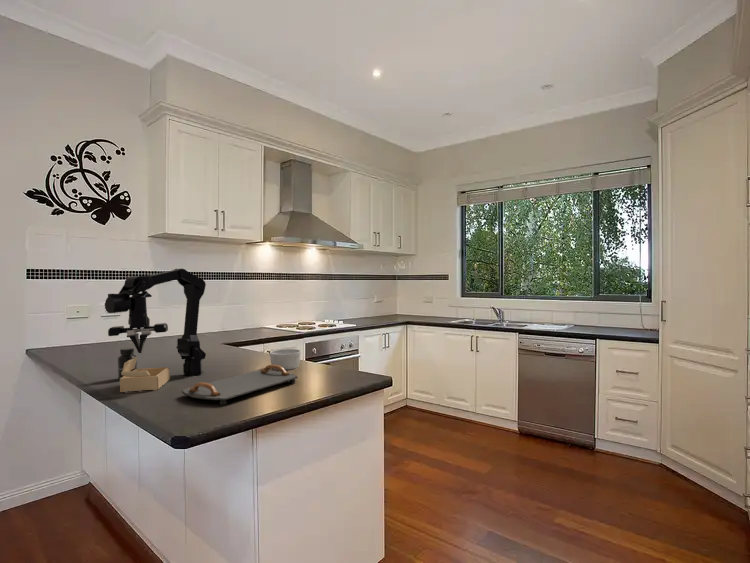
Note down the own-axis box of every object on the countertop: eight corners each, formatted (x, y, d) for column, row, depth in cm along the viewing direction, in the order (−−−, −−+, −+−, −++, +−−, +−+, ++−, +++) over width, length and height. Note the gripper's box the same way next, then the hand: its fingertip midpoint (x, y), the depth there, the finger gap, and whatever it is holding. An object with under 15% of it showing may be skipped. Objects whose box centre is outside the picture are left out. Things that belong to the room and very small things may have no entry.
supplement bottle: (115, 381, 174) (114, 350, 174) (120, 377, 181) (119, 347, 180) (135, 379, 176) (134, 349, 176) (139, 375, 182) (138, 346, 182)
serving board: (261, 376, 178) (261, 360, 178) (305, 382, 166) (304, 365, 166) (172, 400, 146) (171, 381, 146) (218, 410, 133) (217, 390, 133)
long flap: (134, 368, 169) (137, 357, 169) (122, 375, 158) (125, 363, 158) (133, 368, 169) (136, 356, 169) (121, 374, 157) (124, 362, 158)
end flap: (150, 374, 157) (146, 370, 153) (150, 375, 157) (146, 371, 153) (125, 375, 156) (121, 371, 152) (125, 377, 156) (121, 372, 152)
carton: (170, 379, 174) (170, 366, 174) (158, 390, 158) (157, 376, 158) (136, 381, 172) (135, 369, 172) (120, 392, 156) (119, 378, 156)
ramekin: (294, 371, 184) (293, 354, 184) (264, 370, 186) (264, 354, 186) (305, 364, 197) (305, 348, 197) (277, 364, 199) (277, 348, 199)
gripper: (169, 307, 173) (171, 347, 173) (114, 310, 167) (117, 351, 168) (164, 309, 162) (166, 352, 162) (106, 312, 156) (109, 357, 157)
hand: (140, 352), depth 163 cm, fingers closed
